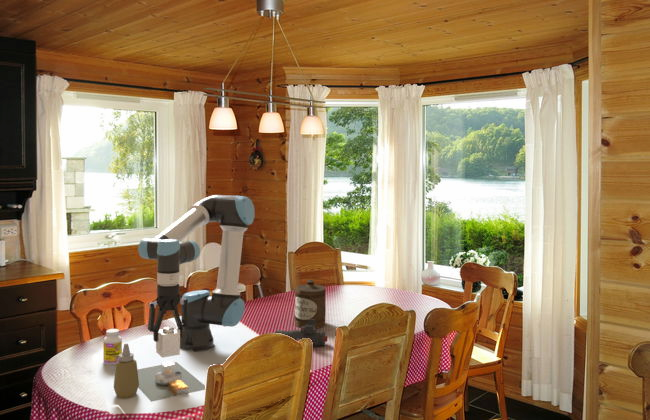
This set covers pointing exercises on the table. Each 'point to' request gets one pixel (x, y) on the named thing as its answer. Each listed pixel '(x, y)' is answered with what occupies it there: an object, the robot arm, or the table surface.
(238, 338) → the table surface
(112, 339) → the supplement bottle
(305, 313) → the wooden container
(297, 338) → the laser sight
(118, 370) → the squeeze bottle
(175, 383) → the grey copper fixture base
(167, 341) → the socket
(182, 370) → the mat
